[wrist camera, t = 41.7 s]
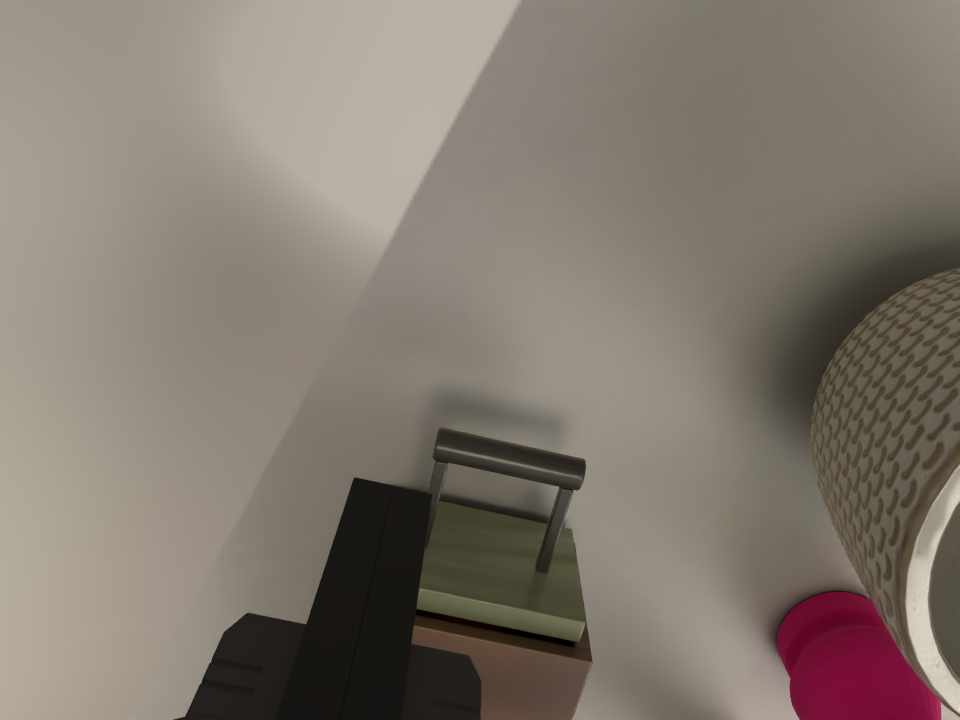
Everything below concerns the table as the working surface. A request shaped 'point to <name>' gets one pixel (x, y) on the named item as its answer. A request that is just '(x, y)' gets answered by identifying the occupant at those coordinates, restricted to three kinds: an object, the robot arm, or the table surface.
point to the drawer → (503, 545)
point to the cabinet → (516, 668)
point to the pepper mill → (849, 664)
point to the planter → (900, 469)
